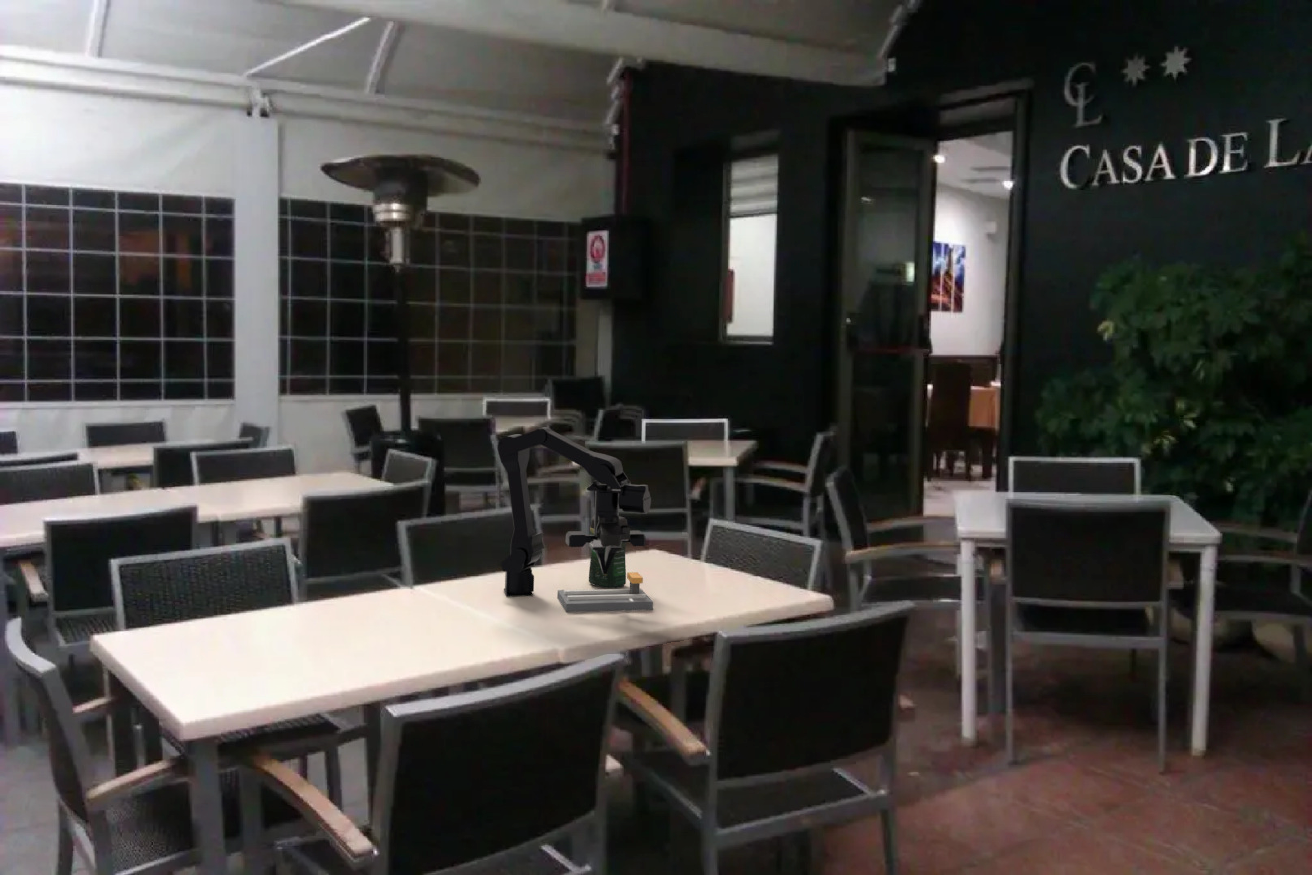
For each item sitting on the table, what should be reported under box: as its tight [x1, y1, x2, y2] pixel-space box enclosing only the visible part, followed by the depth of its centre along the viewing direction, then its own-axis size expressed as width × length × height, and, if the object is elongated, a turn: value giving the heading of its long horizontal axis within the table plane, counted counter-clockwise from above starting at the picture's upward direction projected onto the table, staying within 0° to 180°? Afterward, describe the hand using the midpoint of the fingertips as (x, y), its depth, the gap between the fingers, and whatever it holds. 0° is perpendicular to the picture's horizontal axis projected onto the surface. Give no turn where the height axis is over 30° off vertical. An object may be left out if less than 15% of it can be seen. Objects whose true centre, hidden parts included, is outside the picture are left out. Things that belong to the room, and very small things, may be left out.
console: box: [557, 588, 654, 613], centre depth 272 cm, size 21×13×3 cm, turn 104°
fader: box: [626, 571, 644, 594], centre depth 274 cm, size 3×6×5 cm, turn 14°
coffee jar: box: [588, 515, 628, 589], centre depth 290 cm, size 10×8×19 cm
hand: (604, 573), depth 271 cm, fingers closed
